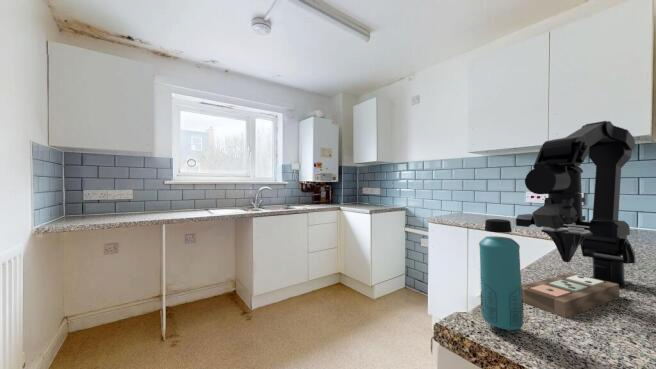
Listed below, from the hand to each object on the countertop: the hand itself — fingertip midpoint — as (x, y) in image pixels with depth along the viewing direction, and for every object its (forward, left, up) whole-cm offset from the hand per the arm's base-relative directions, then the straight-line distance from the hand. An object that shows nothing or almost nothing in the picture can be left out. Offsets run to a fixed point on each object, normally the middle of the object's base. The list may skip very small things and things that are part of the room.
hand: (566, 261), depth 60 cm
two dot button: (-7, 0, -8) cm, 10 cm away
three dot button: (0, 0, -8) cm, 8 cm away
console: (0, 0, -8) cm, 8 cm away
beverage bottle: (+26, +2, -9) cm, 27 cm away
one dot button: (+7, 0, -8) cm, 10 cm away
